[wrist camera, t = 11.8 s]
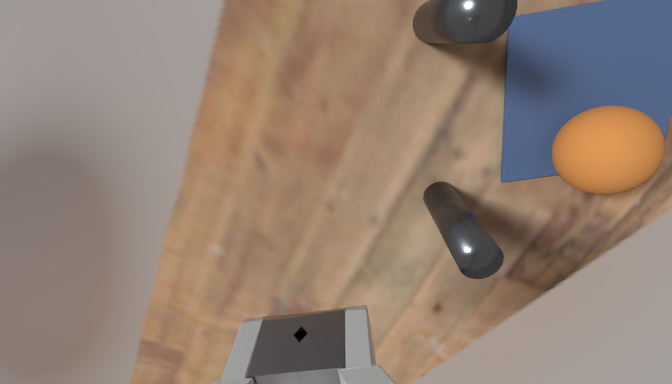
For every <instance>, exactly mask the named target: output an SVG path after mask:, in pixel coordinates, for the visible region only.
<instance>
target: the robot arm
mask: <svg viewBox="0 0 672 384" xmlns="http://www.w3.org/2000/svg"><path fill="white" fill-rule="evenodd" d="M212 384H395V382H394V381H393V380H392V379H391V378H390V377H389V375H388V374H387V373H386V372H385V371H384V370H383V369H382V367H381V366H380V365H376V360H375V354H374V347H373V340H372V334H371V327H370V321H369V315H368V309H367V306H366V305H362V306H354V307H346V308H340V309H332V310H324V311H316V312H308V313H299V314H288V315H277V316H266V317H260V318H248V319H245V320H244V321H243V322H242V323H241V325H240V328H239V331H238V334H237V336H236V339H235V342H234V345H233V348H232V350H231V353H230V356H229V359H228V361H227V364H226V367H225V370H224V372H223V375H222V378H221V381H215V382H213V383H212Z"/></svg>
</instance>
